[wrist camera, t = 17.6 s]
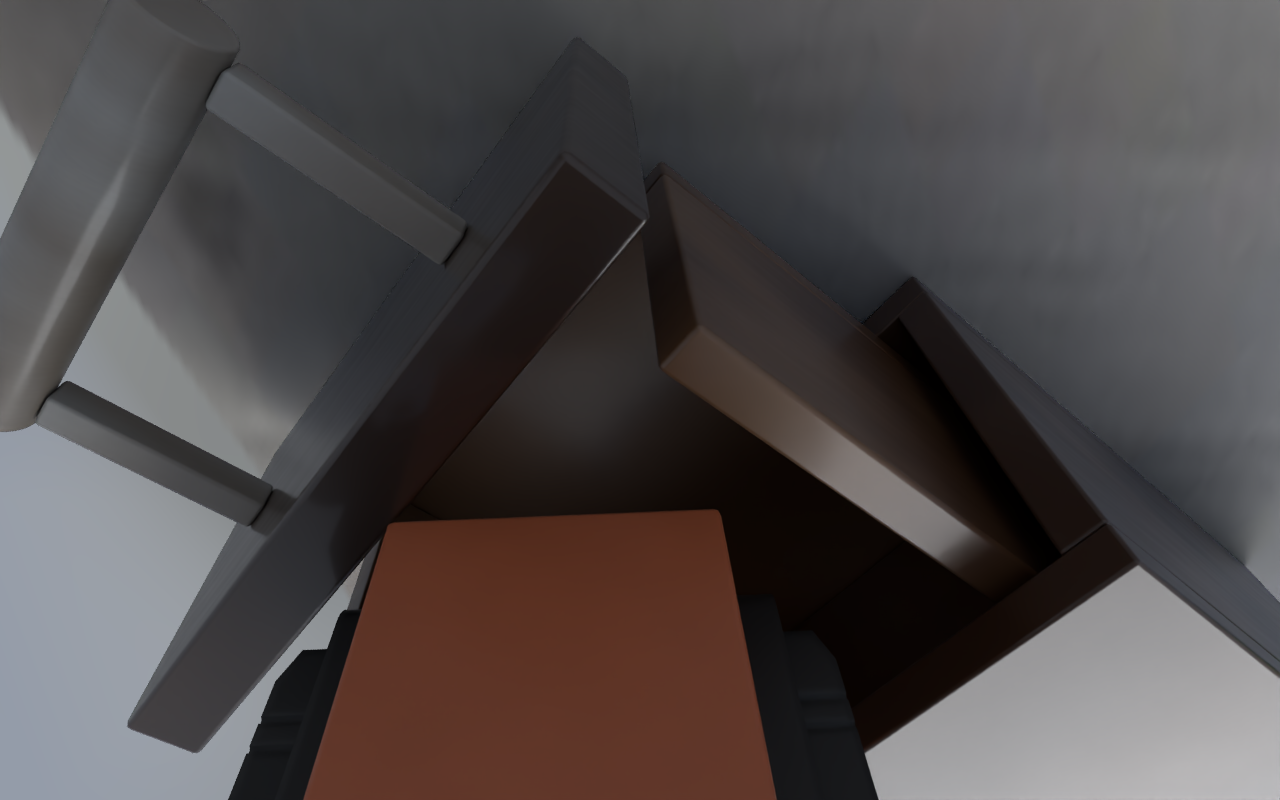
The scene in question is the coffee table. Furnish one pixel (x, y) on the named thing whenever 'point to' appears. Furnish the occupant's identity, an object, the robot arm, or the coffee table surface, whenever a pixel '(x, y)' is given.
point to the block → (548, 666)
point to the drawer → (509, 374)
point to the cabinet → (1078, 623)
